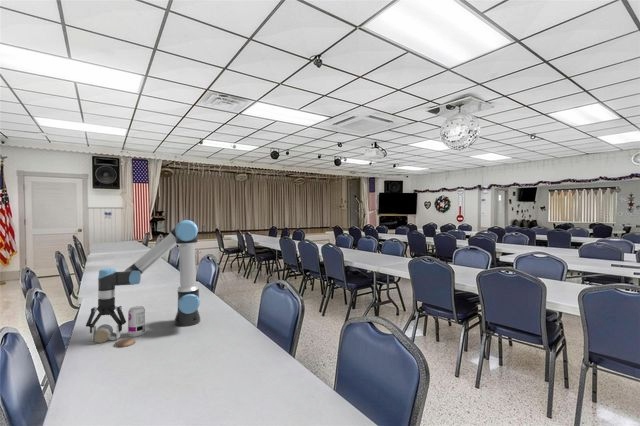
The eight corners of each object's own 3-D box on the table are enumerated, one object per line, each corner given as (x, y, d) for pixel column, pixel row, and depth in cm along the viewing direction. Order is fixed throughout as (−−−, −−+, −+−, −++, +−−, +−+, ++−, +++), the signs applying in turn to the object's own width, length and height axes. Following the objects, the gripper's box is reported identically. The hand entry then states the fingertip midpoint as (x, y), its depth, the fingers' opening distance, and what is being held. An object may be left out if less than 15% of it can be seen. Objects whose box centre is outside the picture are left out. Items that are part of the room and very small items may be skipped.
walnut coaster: (138, 339, 171) (138, 337, 171) (131, 346, 162) (131, 344, 162) (119, 341, 169) (119, 339, 169) (112, 348, 160) (112, 346, 160)
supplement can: (127, 338, 173) (127, 310, 173) (128, 333, 180) (129, 306, 180) (144, 335, 177) (144, 308, 177) (145, 330, 184) (145, 305, 184)
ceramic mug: (92, 344, 164) (93, 329, 164) (96, 339, 171) (96, 324, 171) (116, 341, 168) (117, 327, 168) (119, 336, 175) (119, 322, 176)
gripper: (133, 294, 176) (132, 334, 176) (85, 296, 171) (85, 337, 171) (128, 298, 169) (127, 339, 168) (78, 300, 164) (77, 342, 164)
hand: (106, 338), depth 170 cm, fingers closed on ceramic mug, 11 cm apart
